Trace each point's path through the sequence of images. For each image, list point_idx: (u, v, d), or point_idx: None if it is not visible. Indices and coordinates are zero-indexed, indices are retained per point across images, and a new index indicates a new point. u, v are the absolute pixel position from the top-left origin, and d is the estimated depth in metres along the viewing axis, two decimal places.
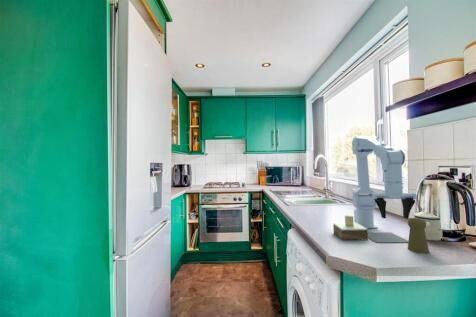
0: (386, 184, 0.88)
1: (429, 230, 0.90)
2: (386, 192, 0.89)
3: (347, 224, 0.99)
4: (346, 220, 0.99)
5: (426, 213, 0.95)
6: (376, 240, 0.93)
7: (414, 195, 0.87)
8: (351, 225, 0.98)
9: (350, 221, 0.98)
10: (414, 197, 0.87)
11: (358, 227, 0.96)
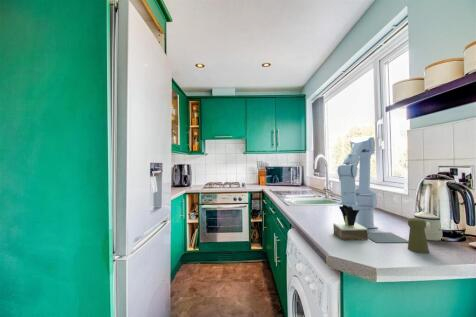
0: None
1: (429, 230, 0.90)
2: None
3: (347, 224, 0.99)
4: (346, 220, 0.99)
5: (426, 213, 0.95)
6: (376, 240, 0.93)
7: (352, 206, 0.94)
8: (351, 225, 0.98)
9: None
10: (352, 208, 0.94)
11: (358, 227, 0.96)
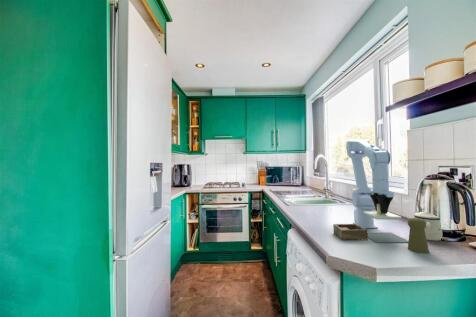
0: None
1: (429, 230, 0.90)
2: None
3: (379, 212, 0.96)
4: (378, 208, 0.97)
5: (426, 213, 0.95)
6: (376, 240, 0.93)
7: (387, 193, 0.91)
8: None
9: None
10: (387, 195, 0.91)
11: (391, 215, 0.94)
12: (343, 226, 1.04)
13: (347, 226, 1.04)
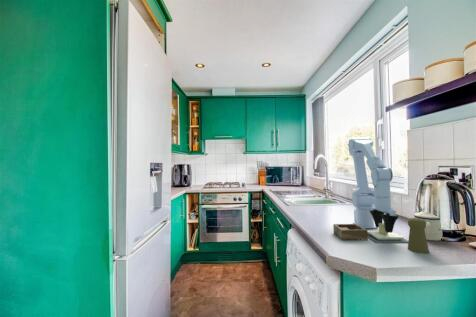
0: None
1: (429, 230, 0.90)
2: None
3: (381, 232, 0.96)
4: (380, 228, 0.96)
5: (426, 213, 0.95)
6: (376, 240, 0.93)
7: (389, 211, 0.91)
8: (386, 233, 0.95)
9: None
10: (389, 213, 0.91)
11: (394, 235, 0.93)
12: (343, 226, 1.04)
13: (347, 226, 1.04)
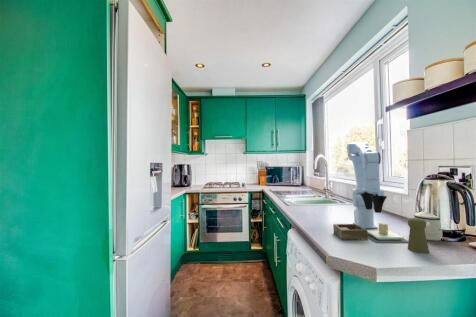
0: None
1: (429, 230, 0.90)
2: None
3: (381, 232, 0.96)
4: (380, 228, 0.96)
5: (426, 213, 0.95)
6: (376, 240, 0.93)
7: (378, 192, 0.95)
8: (386, 233, 0.95)
9: (385, 229, 0.95)
10: (378, 194, 0.95)
11: (394, 235, 0.93)
12: (343, 226, 1.04)
13: (347, 226, 1.04)
